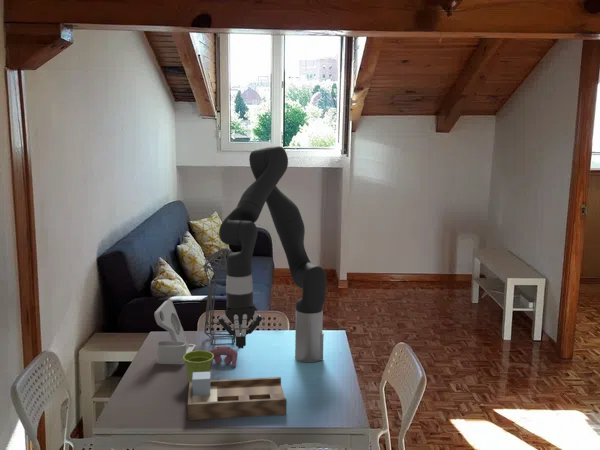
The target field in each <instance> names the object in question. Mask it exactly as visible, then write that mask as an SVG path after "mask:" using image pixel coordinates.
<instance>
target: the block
mask: <svg viewBox="0 0 600 450" xmlns="http://www.w3.org/2000/svg"><path fill="white" fill-rule="evenodd" d="M210 380H211V371H210V372H193V378H192V386H193V396H203V395H210Z"/></svg>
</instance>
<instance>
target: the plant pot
mask: <svg viewBox="0 0 600 450" xmlns="http://www.w3.org/2000/svg"><path fill="white" fill-rule="evenodd" d="M213 358H214V355H213V353H211V352H210V351H208V350H194V351H192V352H188V353H186V354H185V355H184V356H183V359H184V360H185V364H184V365H185V367H186V372H187V373H186V374H187V381H188V383H189V382H190V381H192V378H193V372H210V373H211V367H212V364H211V363H213V361H212V359H213ZM213 360H214V359H213Z"/></svg>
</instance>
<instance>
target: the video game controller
mask: <svg viewBox="0 0 600 450" xmlns="http://www.w3.org/2000/svg"><path fill="white" fill-rule="evenodd" d="M209 352H211V353H213V355H214V358H213V359H212V363H213V361H214V362H215V363H216V364H220V363H222V362H224V363H225V364H226V365H229V364H231V367H232V368H235V367H236V366H237V360H238V351H237V350H236V349H235V348H234V347H230V346H225V345H218V346H214V347H212V348H211V349H210V351H209ZM221 356H225V357H224V358H222V357H221ZM212 363H211V365H212Z"/></svg>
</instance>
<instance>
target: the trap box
mask: <svg viewBox="0 0 600 450" xmlns="http://www.w3.org/2000/svg"><path fill="white" fill-rule="evenodd" d="M188 383H189V384H188V395H187V420H188V421H194V420H195V421H196V420H198V421H199V420H213V419H230V418H231V419H232V418H248V417H267V416H268V417H269V416H285V415H287V397H285V393H284V389H283V386H282V377H281V376H274V377H272V376H271V377H252V378H235V379H234V378H233V379H230V378H229V379H213V380H212V379H210V395H203V396H193V386H192V381H190V382H189V381H188Z"/></svg>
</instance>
